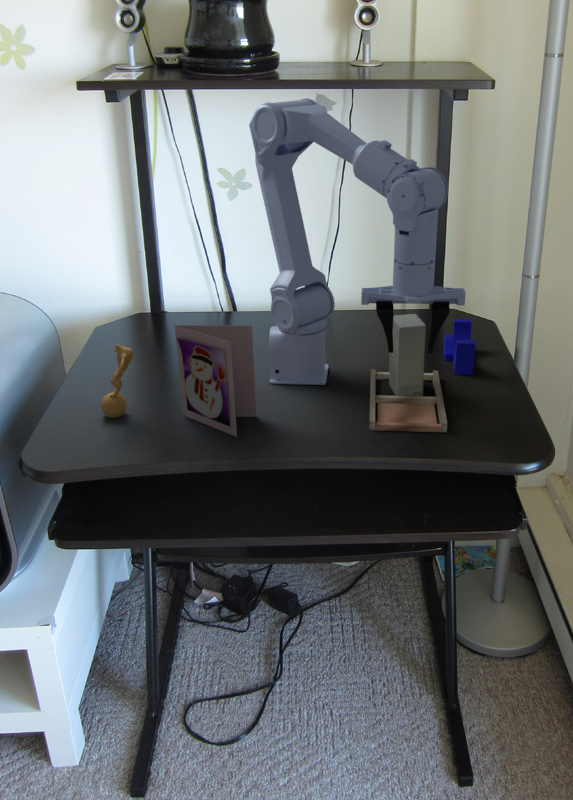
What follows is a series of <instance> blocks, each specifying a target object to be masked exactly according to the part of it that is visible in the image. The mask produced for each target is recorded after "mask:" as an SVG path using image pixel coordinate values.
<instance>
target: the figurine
mask: <svg viewBox="0 0 573 800" xmlns="http://www.w3.org/2000/svg"><path fill="white" fill-rule="evenodd" d="M113 350H114V352H115V353H116V362H117V365H118V366H117V367H118V368H117V369H116V370H115V372H113V374H112V377H111V378H110V380H109V382H110V384H111V385H110V386H112V387H114V388H115V389H114V390H111V392H109V393H107V394H105V395H104V396H103V397H102V398H101V400H100V409H101V411H102V413H103V414H104V415H105V416H106V417H108V418H111V419H116V418H117V419H118V418H119V417H122V416H123V415H124V414H126V411H127V410H128V409H127V408H128V402H127V399H126V398H125V396H124V395H123V394H121V393H120V391H121V388H122V386H123V381H122V380H121V379H122V377H123V375H124V373H125V372H126V371H127V370H128V368H129V365H130V363H132V360H133V358H134V356H135V355H134V354H135V352H134V350H133V348H131V347H125V346H123V345H121V344H118V343H117V344H115V345H114V349H113Z"/></svg>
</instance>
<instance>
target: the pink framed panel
mask: <svg viewBox="0 0 573 800" xmlns="http://www.w3.org/2000/svg"><path fill="white" fill-rule="evenodd" d="M376 380H389V371H388V372H387V371H386V372H385V371H376V369H375V368H371V369H370V387H369V388H370V389H369V390H370V391H369V396H370V397H369V426H368V427H369V431H386V432H387V431H389V432H390V431H391V432H392V431H393V432H394V431H395V432H421V433H423V432H424V433H447V432H448V420H447V414H446V409H445V403H444V397H443V392H442V386H441V382H440V381H441V380H440V376H439V371H438V370H432V372H431V373H430V372H424V379H423V381H432V385H433V390H434V396H424V395H423V396H396V395H384V394H383V395H382V394H381V395H379V394H378V395H377V394H376ZM376 404H377V421H376ZM435 405H436V407H435ZM436 411H437V413H436ZM437 414H438V415H437ZM437 416H438V419H437Z"/></svg>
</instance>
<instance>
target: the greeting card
mask: <svg viewBox="0 0 573 800" xmlns="http://www.w3.org/2000/svg"><path fill="white" fill-rule="evenodd" d="M174 332H175V333H174V334H175V341H176V342H175V343H176V351H177V352H176V353H177V363H178V372H179V381H180V382H179V384H180V391H181V392H180V394H181V402H182V403H181V404H182V413H183V416H184V417H187V418H189V419H191V420H193V421H197V422H199V423H201V424H204V425H207V426H208V427H211V428H214V429H216V430H219V431H221V432H224V433H226V434H228V435H231V436H233V437H236V438H238V433H237V431H238V430H237V417H239V418H240V417H241V418H242V417H248V418H251V417H252V418H256V417H257V403H256V401H257V400H256V399H257V398H256V382H255V364H254V363H255V359H254V345H253V342H254V341H253V326H252V325H243V324H242V325H238V324H237V325H235V324H234V325H230V324H229V325H224V324H223V325H221V324H220V325H219V324H215V325H211V324H209V325H208V324H205V325H204V324H200V325H199V324H192V325H191V324H188V325H187V324H175V325H174Z"/></svg>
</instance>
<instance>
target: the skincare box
mask: <svg viewBox="0 0 573 800" xmlns="http://www.w3.org/2000/svg"><path fill="white" fill-rule="evenodd" d="M426 327H427V326H426V324H425V322H424V321H423V320H422V319H421V318H420V317H419V316H418V315H417V314H416V313H409V314H406V313H405V314H396V315H395V314H394V316H393V353H389V370H388V372H389V379H388V380H389V381H388V383H389V387H390V388H391V390H392V392H393V394H394V396H424V380H423V379H424V373H425V347H426V346H425V345H426V342H425V341H426Z"/></svg>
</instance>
